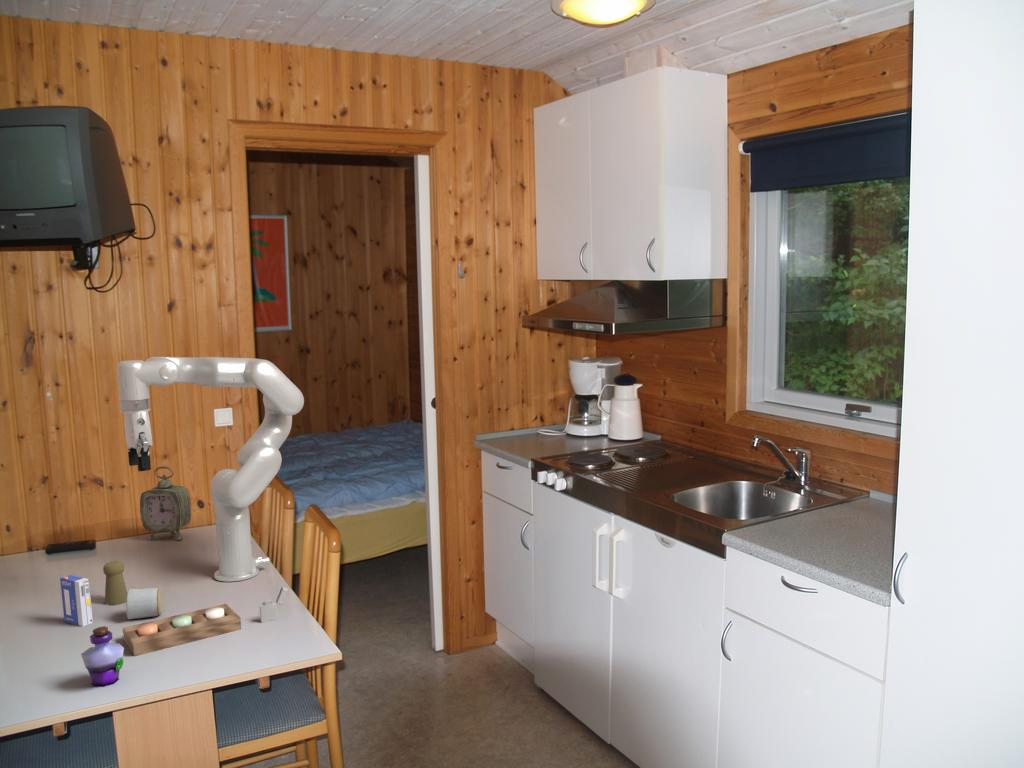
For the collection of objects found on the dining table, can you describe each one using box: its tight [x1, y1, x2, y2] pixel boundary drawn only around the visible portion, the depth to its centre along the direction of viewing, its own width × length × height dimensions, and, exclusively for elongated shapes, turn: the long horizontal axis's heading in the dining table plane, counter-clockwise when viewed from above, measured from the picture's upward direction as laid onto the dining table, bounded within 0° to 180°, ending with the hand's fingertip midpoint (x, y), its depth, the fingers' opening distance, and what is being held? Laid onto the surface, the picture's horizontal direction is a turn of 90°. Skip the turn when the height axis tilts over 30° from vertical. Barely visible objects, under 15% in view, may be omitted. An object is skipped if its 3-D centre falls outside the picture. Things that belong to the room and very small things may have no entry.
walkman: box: [59, 574, 94, 627], centre depth 227 cm, size 8×3×12 cm, turn 60°
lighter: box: [258, 586, 289, 624], centre depth 225 cm, size 7×2×8 cm, turn 115°
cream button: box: [206, 608, 224, 620], centre depth 221 cm, size 4×4×2 cm
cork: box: [102, 560, 128, 606], centre depth 241 cm, size 6×6×11 cm
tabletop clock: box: [139, 465, 192, 541], centre depth 300 cm, size 14×9×25 cm, turn 81°
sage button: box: [172, 615, 192, 628], centre depth 217 cm, size 4×4×2 cm
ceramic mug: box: [125, 587, 164, 620], centre depth 231 cm, size 11×8×8 cm
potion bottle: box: [80, 626, 125, 688], centre depth 192 cm, size 9×9×12 cm
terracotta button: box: [138, 623, 158, 637], centre depth 212 cm, size 4×4×2 cm
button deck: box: [122, 603, 242, 657], centre depth 217 cm, size 25×12×3 cm, turn 125°
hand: (139, 467), depth 242 cm, fingers open, 9 cm apart
